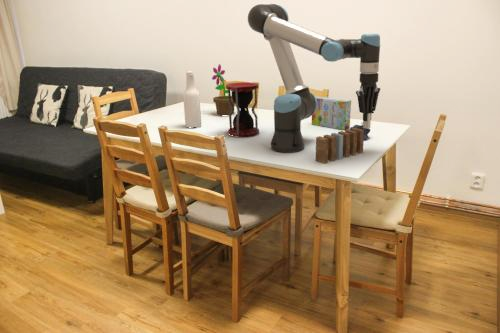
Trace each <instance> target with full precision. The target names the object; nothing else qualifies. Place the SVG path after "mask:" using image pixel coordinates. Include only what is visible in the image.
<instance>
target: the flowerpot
mask: <svg viewBox="0 0 500 333" xmlns="http://www.w3.org/2000/svg"><path fill="white" fill-rule="evenodd" d="M212 70H213V71H212V72H214V75H213V76H212V77H211V80H216V81H215V82H216V83H215V84H216V87H215V88H214V89H215V90H218V91H221V90H222V91H223V95H220V96H215V97H213V98H212V99H213V103H215V109H216V114H218V115H217V116H219V115H230V113H231V111H232V108H231V105H230V104H229V100H228V95H226V94H228V89H226V84H225V80H224V77H223V75H224V74H225V73H226V70H223V69H222V65H221V64H218V66H217V68H216V67H213V68H212ZM220 81H221V82H222V84H220ZM230 96H231V103H232V104H233V106H234V107H235V106H236V104H235V103H234V101H233V99H232V95H230ZM232 114H233V115H234V114H235V111H234V112H233V113H232Z"/></svg>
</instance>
